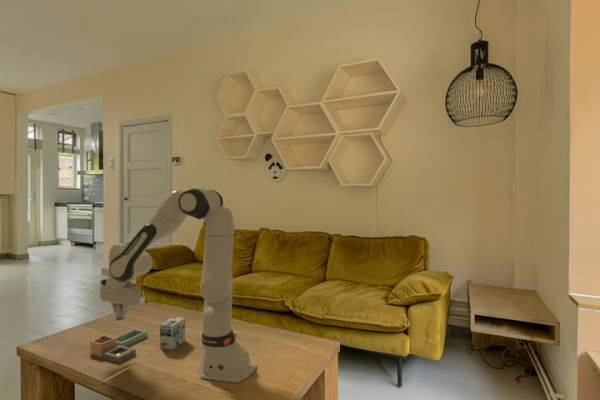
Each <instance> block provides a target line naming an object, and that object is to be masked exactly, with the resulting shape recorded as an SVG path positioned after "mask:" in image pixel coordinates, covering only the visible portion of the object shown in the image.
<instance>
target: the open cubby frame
mask: <svg viewBox="0 0 600 400" xmlns="http://www.w3.org/2000/svg"><path fill="white" fill-rule="evenodd" d="M106 336H107V337H108V341H106V342H104V343H99V338H100V337H99V338H95V339H93V340H91V341H90V344H89V345H90V347H89V349H90V353H89V354H90V355H94V356H97V357H100V358H102V353H103V352H105V351H107V350H109V349H111V348H113V347H116V338H115V337H113V336H112V337H111V336H109V335H106Z"/></svg>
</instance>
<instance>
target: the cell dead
mask: <svg viewBox="0 0 600 400" xmlns="http://www.w3.org/2000/svg"><path fill="white" fill-rule="evenodd" d="M107 336H108V335H103V336H100V337H99V343H104V342H106V341H108V337H107Z"/></svg>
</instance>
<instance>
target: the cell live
mask: <svg viewBox="0 0 600 400" xmlns="http://www.w3.org/2000/svg"><path fill="white" fill-rule="evenodd" d="M123 309H124V307H123V305H122V304H117V305H116V313H115V321H123V320H124V319H125V318H126V317H125V315H126V314H125V315H123V314H121V313H122V312H121V310H123Z"/></svg>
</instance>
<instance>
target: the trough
mask: <svg viewBox="0 0 600 400" xmlns="http://www.w3.org/2000/svg"><path fill="white" fill-rule="evenodd" d="M114 338H116V346H118V345H121V346H125V347H129V346H131V345H133V344H135V343H137V342H139V341H141V340H143V339H146V338H148V331H146V330H142V329H138V328H134V329H130V330H129V331H127V332H124V333H121V334H119V335H117V336H115V337H114Z"/></svg>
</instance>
